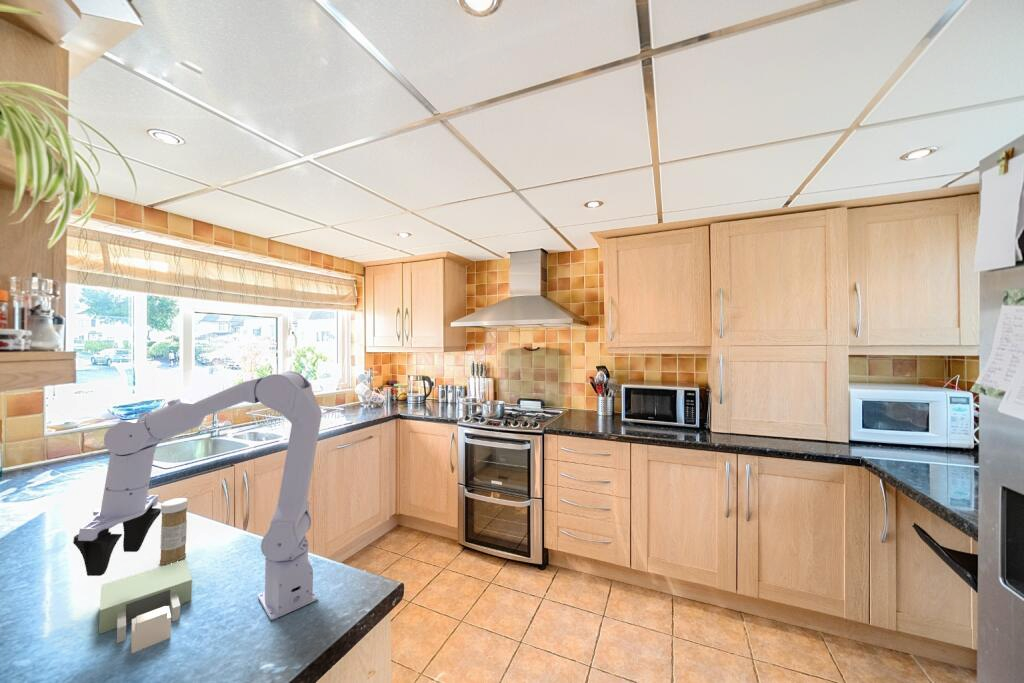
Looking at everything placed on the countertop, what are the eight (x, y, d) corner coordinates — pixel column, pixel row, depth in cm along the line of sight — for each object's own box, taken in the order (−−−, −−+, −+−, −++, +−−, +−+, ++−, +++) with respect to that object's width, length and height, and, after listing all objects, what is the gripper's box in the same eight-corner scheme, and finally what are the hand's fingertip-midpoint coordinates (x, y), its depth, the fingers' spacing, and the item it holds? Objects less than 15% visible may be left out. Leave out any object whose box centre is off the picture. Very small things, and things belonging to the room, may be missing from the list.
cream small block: (170, 638, 63) (171, 611, 63) (131, 653, 60) (132, 625, 60) (168, 626, 66) (169, 600, 66) (130, 640, 63) (131, 613, 63)
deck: (195, 613, 69) (195, 591, 69) (98, 650, 60) (98, 625, 60) (184, 578, 79) (185, 559, 79) (100, 606, 71) (101, 584, 71)
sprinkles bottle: (170, 555, 88) (172, 497, 88) (191, 554, 89) (192, 496, 89) (153, 566, 84) (155, 505, 84) (175, 565, 84) (177, 504, 84)
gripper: (133, 471, 74) (121, 541, 73) (61, 500, 60) (46, 587, 59) (174, 473, 76) (163, 542, 75) (113, 501, 61) (99, 586, 61)
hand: (114, 562), depth 67 cm, fingers open, 7 cm apart
